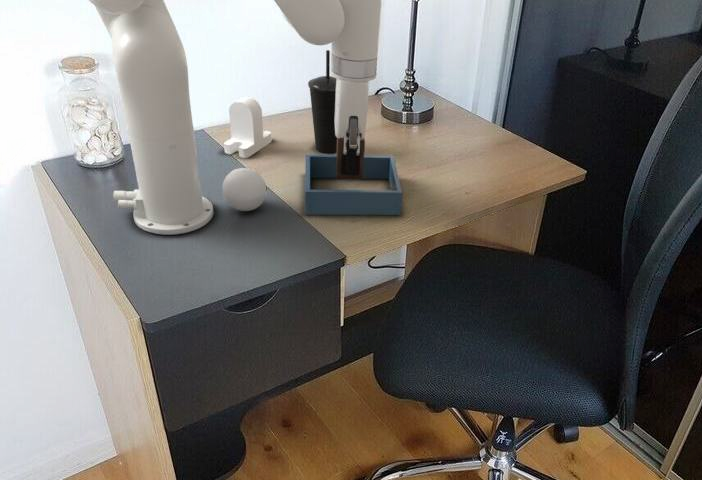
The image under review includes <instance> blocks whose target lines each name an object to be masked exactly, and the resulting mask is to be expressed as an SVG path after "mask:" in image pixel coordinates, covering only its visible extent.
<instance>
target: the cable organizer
mask: <svg viewBox="0 0 702 480" xmlns="http://www.w3.org/2000/svg"><path fill="white" fill-rule="evenodd" d="M228 115H229V127H230V137H231V138H229V139H228V140H225V141H224V143H223V148H224V154H227V155H232V154H234V153H235V152H238V157H239V158H243V159H248V158H250V157H251V156H252V155H254V154H255V153H258V151H260V150H261V149H263V148H265V147H266V146H268V145H269V144H270V143H272V132H271V131H268V130H264V125H263V111H262V108H261V105H260V103H259V101H257V99H255V98H254V97H250V96H243V97H241V98H240V99H238V100H236V101H234V102H232V103H231V105H230V106H229V109H228Z"/></svg>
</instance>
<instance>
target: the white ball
mask: <svg viewBox="0 0 702 480" xmlns="http://www.w3.org/2000/svg"><path fill="white" fill-rule="evenodd" d="M266 184H267V183H266V181H265V180H264V178H263V177H262V175H261V174H260V173H258V172H257V171H256V170H254V169H252V168H248V167H240V168H235V169H233V170H232V171H230V172H229V173H228V174H227V173H226V176H225V178H224V180H223V182H222V187H221V192H222V195H223V198H224V201H225V202H227V204H228V205H229V206H230V207H231V208H232V209H235V210H237V211H240V212H250V211H253V210H256V209H258V208H259V207H260V206H261V205H262V204H263V202H264V201H265V199H266V195H267V191H268V187H267V185H266Z"/></svg>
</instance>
